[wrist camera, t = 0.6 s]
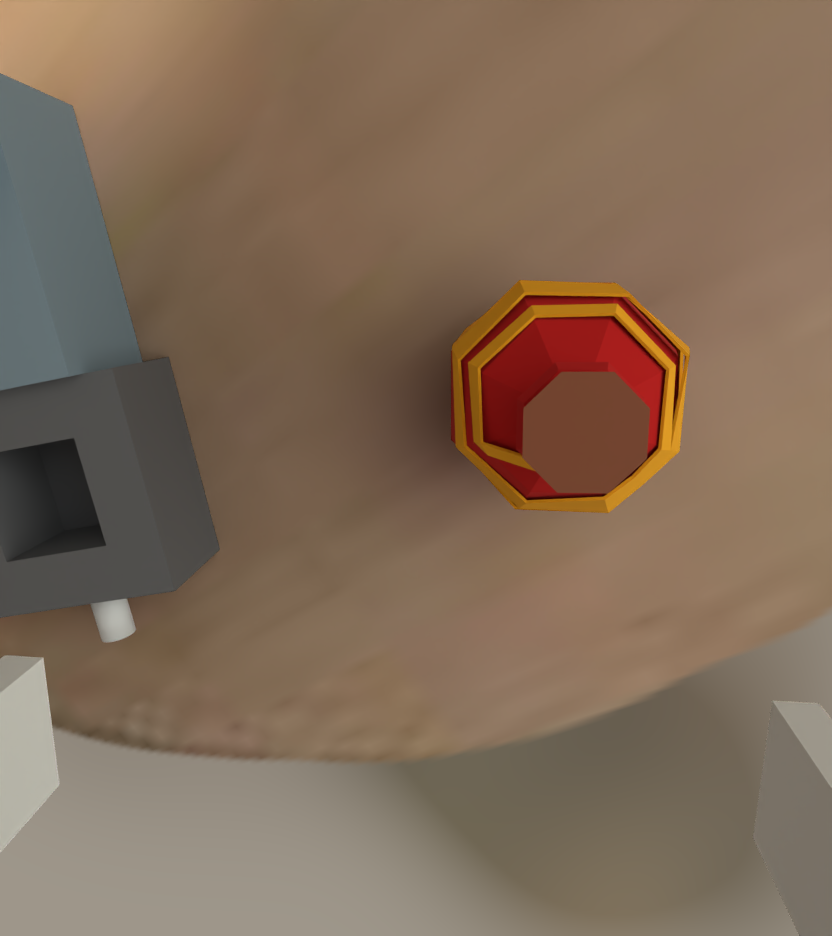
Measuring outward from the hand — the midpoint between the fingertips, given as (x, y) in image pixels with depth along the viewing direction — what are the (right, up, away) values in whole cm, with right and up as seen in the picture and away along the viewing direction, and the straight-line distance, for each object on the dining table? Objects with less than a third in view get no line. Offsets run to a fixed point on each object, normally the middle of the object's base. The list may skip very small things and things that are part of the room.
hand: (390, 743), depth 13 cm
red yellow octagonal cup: (+7, +10, +24) cm, 27 cm away
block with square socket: (-18, +11, +27) cm, 34 cm away
